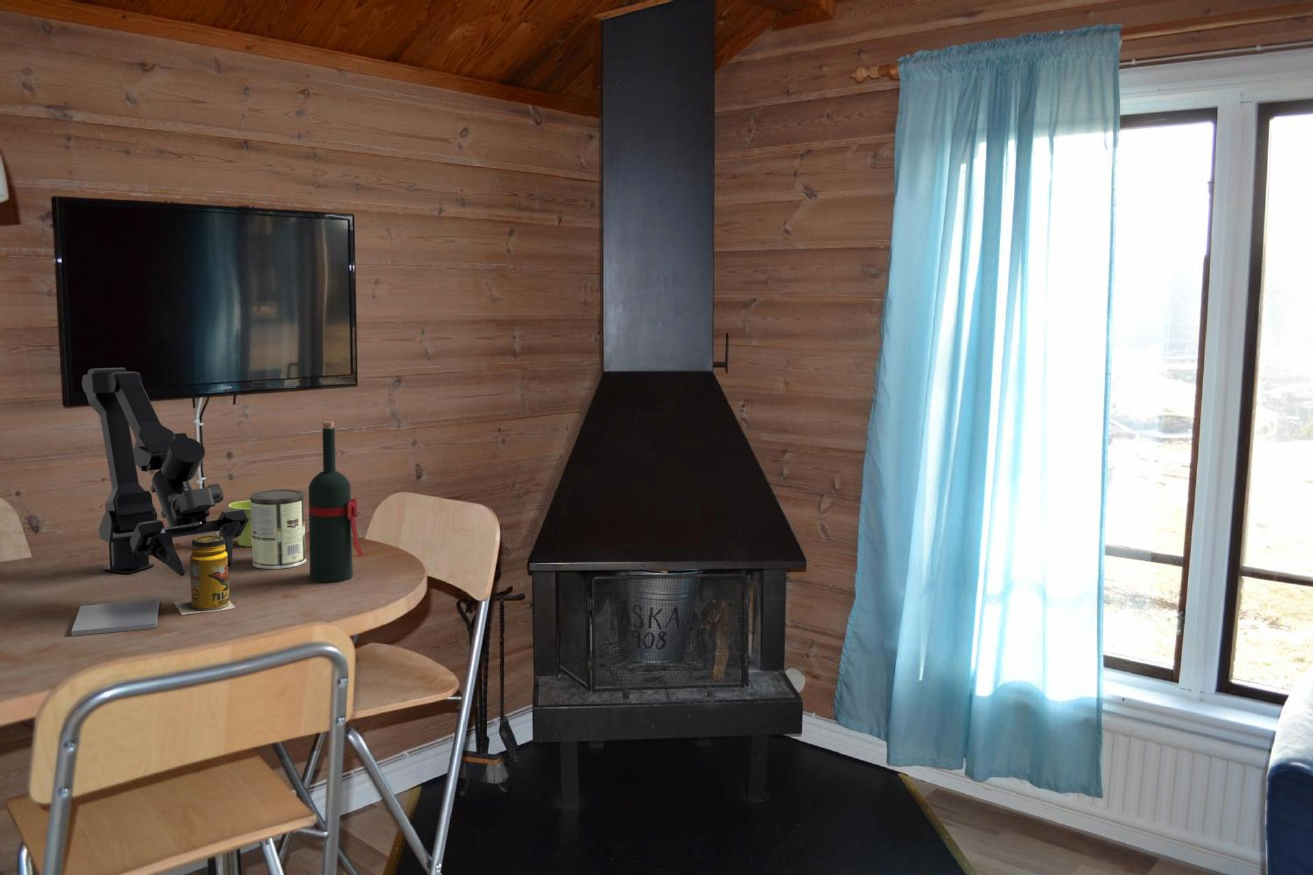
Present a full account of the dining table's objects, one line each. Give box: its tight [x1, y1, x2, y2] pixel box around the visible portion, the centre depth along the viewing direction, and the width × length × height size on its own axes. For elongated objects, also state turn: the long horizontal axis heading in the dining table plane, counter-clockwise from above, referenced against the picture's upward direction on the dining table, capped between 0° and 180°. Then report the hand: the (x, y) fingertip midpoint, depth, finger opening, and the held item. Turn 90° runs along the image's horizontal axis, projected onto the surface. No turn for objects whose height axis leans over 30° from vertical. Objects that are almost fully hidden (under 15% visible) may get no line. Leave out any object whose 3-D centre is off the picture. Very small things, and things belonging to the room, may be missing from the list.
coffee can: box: [249, 488, 307, 570], centre depth 210 cm, size 10×10×14 cm
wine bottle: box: [308, 420, 365, 584], centre depth 199 cm, size 8×10×30 cm
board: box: [71, 599, 160, 637], centre depth 174 cm, size 14×12×1 cm
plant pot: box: [227, 500, 252, 548], centre depth 225 cm, size 9×9×9 cm
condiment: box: [174, 535, 236, 616], centre depth 181 cm, size 7×8×12 cm
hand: (207, 570), depth 180 cm, fingers open, 8 cm apart
